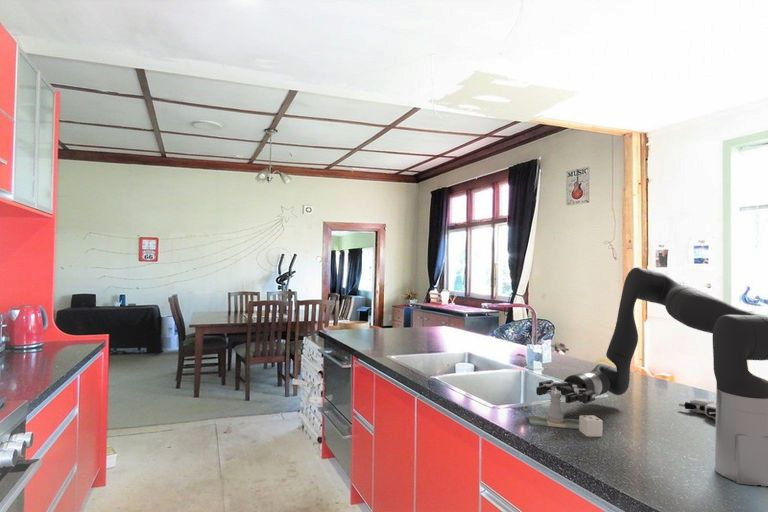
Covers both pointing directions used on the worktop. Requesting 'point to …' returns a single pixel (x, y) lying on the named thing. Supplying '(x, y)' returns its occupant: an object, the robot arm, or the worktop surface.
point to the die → (590, 425)
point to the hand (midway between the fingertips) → (551, 395)
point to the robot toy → (701, 407)
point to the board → (544, 422)
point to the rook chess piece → (555, 408)
